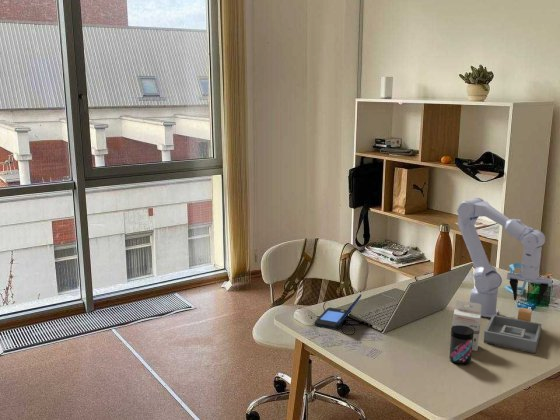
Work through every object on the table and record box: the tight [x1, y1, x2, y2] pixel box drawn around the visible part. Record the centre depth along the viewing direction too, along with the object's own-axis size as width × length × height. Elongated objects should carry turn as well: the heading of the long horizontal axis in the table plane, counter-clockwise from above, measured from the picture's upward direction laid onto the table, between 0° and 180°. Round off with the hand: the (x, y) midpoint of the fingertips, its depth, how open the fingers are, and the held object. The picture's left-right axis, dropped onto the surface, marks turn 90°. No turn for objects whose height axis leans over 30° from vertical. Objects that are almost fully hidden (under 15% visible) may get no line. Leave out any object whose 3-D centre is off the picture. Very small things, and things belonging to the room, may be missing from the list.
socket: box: [501, 325, 525, 338], centre depth 192 cm, size 7×7×2 cm
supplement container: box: [449, 325, 474, 366], centre depth 176 cm, size 7×7×10 cm
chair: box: [504, 262, 528, 296], centre depth 234 cm, size 8×8×12 cm
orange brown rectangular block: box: [517, 307, 533, 322], centre depth 202 cm, size 4×4×6 cm
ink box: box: [451, 299, 482, 352], centre depth 185 cm, size 9×5×15 cm, turn 65°
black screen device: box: [314, 293, 362, 331], centre depth 206 cm, size 16×13×9 cm
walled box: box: [483, 314, 542, 354], centre depth 192 cm, size 16×16×4 cm
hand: (526, 301), depth 200 cm, fingers open, 7 cm apart
